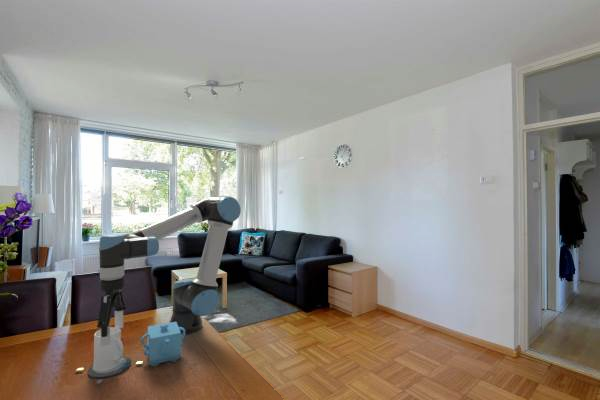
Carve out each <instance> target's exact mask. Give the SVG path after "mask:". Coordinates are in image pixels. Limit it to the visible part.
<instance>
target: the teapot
mask: <svg viewBox="0 0 600 400" xmlns="http://www.w3.org/2000/svg"><path fill="white" fill-rule="evenodd" d="M180 330H182V331H183V334H182V335H181V332H180ZM185 333H186V332H185V329H184V328H182V327H178V325H177V322H171V323H169V322H166V323H161V324H156V325H155V324H154V325H149V326H147V333H145V334H144V335H143V336H142V337H141V339H140V342H141V345H142V346H143V347H144V348H145V349H144V350H143V355H144V356H147V357H148V363H149V366H151V367H158V366H159V365H160V364H162V363H166V362H170V363H173V362H174V361H175V362H177V361H178V359H181V358H182V357H181V356H182V355H181V354H182V353H181V352H182V351H181V350H182V348H183V346H184V343H183V342H182V340H183V339H184V338H185V336H186V334H185ZM146 338H147V343H146V342H145V339H146ZM176 360H177V361H176Z"/></svg>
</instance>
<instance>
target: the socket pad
mask: <svg viewBox="0 0 600 400" xmlns="http://www.w3.org/2000/svg"><path fill="white" fill-rule="evenodd" d="M120 359H121V363H120V364H119V365H118V366H117V367H115V368H113V369H111V370H107V371H102V372H98V371H94V370H93V364H91V365H90V366H89V368H88V371H87V375H88V376H89V378H91V379H98V380H97V382H96V383H95V386H102V384H103V383H104V379H106V378H107V379H108V378H112V377H115V376H117V375H120V374H122V373H125V372H126V371H127V370H128V369H129V368H130V367H131V365H132V359H131V358H130V357H129V356H126V355H122V356H121V358H120ZM143 364H144V361H143V360H142V361H141V360H140V361H136V363H135V366H136V367H139V366H140V367H141V366H142V365H143ZM84 371H85V367H78V368H77V369H76V370H75V373H76V374H78V373H84Z"/></svg>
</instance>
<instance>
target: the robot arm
mask: <svg viewBox="0 0 600 400" xmlns="http://www.w3.org/2000/svg"><path fill="white" fill-rule="evenodd" d="M240 215H241V204H240V203H239V201H238V200H237V198H235V197H233V196H228V195H223V196H215V195H214V196H209V197H207V198H205V199H202V200H200V201H198V202H196V203H193V204H191V205H190V207H189V208H187V209H184V210H183V211H180V212H178V213H176V214H173V215H172V216H169V217H167V218H164V219H161V220H159V221H158V222H155V223H153V224H150V225H148V226H146V227H143V228H140V229H139V230H136V231H134V232H132V233H125V234H121V233H120V234H118V233H115V234H114V233H113V234H106V235H101V236H100V238H99V248H98V250H99V269H98V272H99V278H100V280H99V290H100V291H101V292H102V291H103V292H105V294H104V296H101V298H100V308H99V314H98V320H97V325H96V328H99V330H100V333H101V346H106V345H110V327H111V324H110V323H111V317H112V313H113V310H114V309H115V311H114V327H118V328H120V329H123V328H124V310H126V309H127V307H126V301H125V296H124V292H123V291H124V290H123V288H124V287H125V277H124V276H125V260H130V259H131V260H132V259H137V258H145V257H146V258H147V257H151V256H156V255H157V254H158V253H159V249H160V242H159V241H160V240H162V239H164V238H166V237H167V238H168V237H169V236H171V235H173V234H175V233H177V232H179V231H181V230H183V229H185V228H187V227H189V226H192V225H194V224H196V223H198V224H202V223H203V222H206V221H207V223H208V225H209V227H208V232H207V236H206V240H205V244H204V247H203V250H202V255H201V259H200V261H199V266H198V270H197V275H196V277H193V278H191V277H190V278H185V279H184V278H183V279H180V280H176V281H174V282H173V285H172V314H171V317H170V319H169V322H168V323H171V322H177V325H178V327H182V328H184V329H185V332H186V333H185V335H189V334H192V333H196V332H199V330H201V329H202V328H203V320H202V317H205V316H208V315H211V314H212V313H213V312H214V311H216V310H217V307H218V306H219V303H220V295H219V293H218V287H219V285H218V282H217V277H218V272H219V268H220V265H221V260H222V256H223V253H224V248H225V245H226V241H227V240H226V239H227V235H228V231H229V230H230V229H231V228H232V227H233V226H234V222H235V221H237V220H238V219H239V218H240ZM113 308H114V309H113ZM180 332H181V336H182V334H183V331H182V330H180Z"/></svg>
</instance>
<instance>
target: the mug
mask: <svg viewBox="0 0 600 400" xmlns="http://www.w3.org/2000/svg"><path fill="white" fill-rule="evenodd" d="M121 337H122V328H118V327H115V326H113V327H112V326H110V345H106V346H101V333H100V329H98V330H97V331H96V332H95V333H94V335H93V340H94V341H93V364H92V365H93V370H94V371H98V372H102V371H107V370H111V369H113V368H115V367H117V366H118V365H119V364H120V363H121V359H120V358H121V356H123V354H124V345H123V343H122V338H121Z"/></svg>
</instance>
